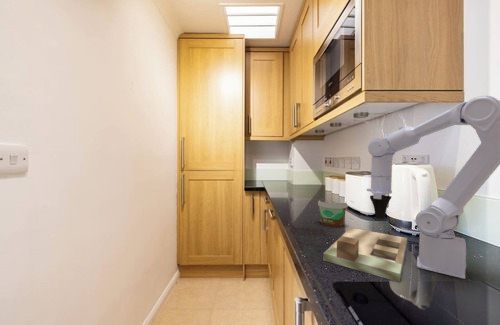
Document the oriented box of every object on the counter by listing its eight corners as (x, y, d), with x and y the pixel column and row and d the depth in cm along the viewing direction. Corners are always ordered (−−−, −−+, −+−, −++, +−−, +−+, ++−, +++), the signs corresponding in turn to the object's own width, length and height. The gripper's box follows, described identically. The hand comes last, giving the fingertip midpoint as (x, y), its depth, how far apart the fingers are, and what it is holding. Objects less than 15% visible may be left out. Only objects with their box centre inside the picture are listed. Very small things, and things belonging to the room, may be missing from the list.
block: (358, 255, 63) (358, 239, 63) (354, 261, 60) (354, 244, 59) (341, 251, 66) (341, 235, 66) (336, 256, 62) (336, 240, 62)
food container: (314, 225, 98) (315, 201, 98) (317, 221, 103) (318, 199, 103) (345, 229, 92) (346, 204, 92) (347, 225, 98) (347, 202, 97)
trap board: (407, 243, 78) (407, 238, 78) (399, 282, 54) (399, 273, 54) (350, 232, 88) (350, 227, 88) (323, 260, 64) (323, 253, 64)
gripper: (371, 174, 82) (370, 212, 83) (362, 176, 71) (361, 220, 71) (394, 175, 78) (393, 215, 78) (389, 178, 66) (388, 225, 67)
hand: (380, 218), depth 74 cm, fingers closed
